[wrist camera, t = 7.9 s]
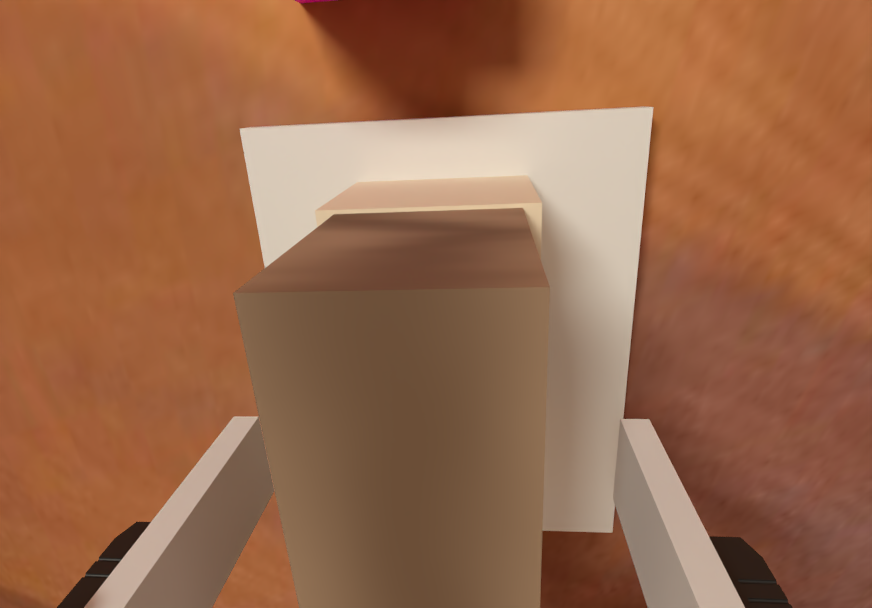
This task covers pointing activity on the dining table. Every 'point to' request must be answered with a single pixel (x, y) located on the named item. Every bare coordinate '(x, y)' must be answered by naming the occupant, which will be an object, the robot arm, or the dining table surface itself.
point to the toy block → (309, 0)
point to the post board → (569, 250)
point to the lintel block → (406, 407)
